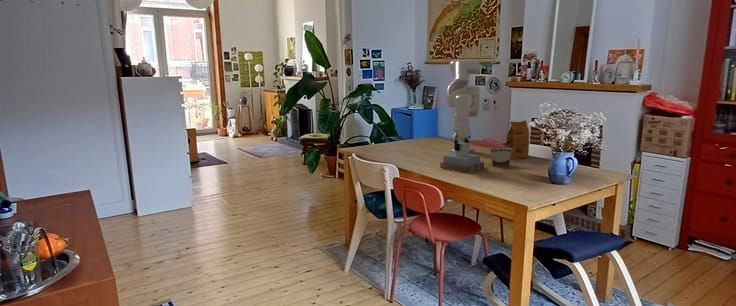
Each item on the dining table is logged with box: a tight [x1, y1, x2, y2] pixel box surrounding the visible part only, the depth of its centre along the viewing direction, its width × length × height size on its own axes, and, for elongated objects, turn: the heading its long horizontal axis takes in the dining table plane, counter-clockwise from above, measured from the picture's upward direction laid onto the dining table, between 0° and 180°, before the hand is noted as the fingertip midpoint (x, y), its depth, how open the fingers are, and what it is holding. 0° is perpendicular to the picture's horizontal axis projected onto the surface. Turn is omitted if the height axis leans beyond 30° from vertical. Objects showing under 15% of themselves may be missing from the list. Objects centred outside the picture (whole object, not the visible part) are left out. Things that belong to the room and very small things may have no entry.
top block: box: [443, 152, 481, 167], centre depth 263 cm, size 12×16×4 cm
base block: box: [439, 161, 485, 174], centre depth 264 cm, size 16×18×4 cm
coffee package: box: [505, 120, 530, 160], centre depth 285 cm, size 10×12×22 cm
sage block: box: [456, 142, 470, 157], centre depth 262 cm, size 5×5×7 cm
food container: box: [489, 146, 513, 167], centre depth 268 cm, size 12×6×10 cm, turn 84°
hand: (461, 149), depth 262 cm, fingers open, 8 cm apart
